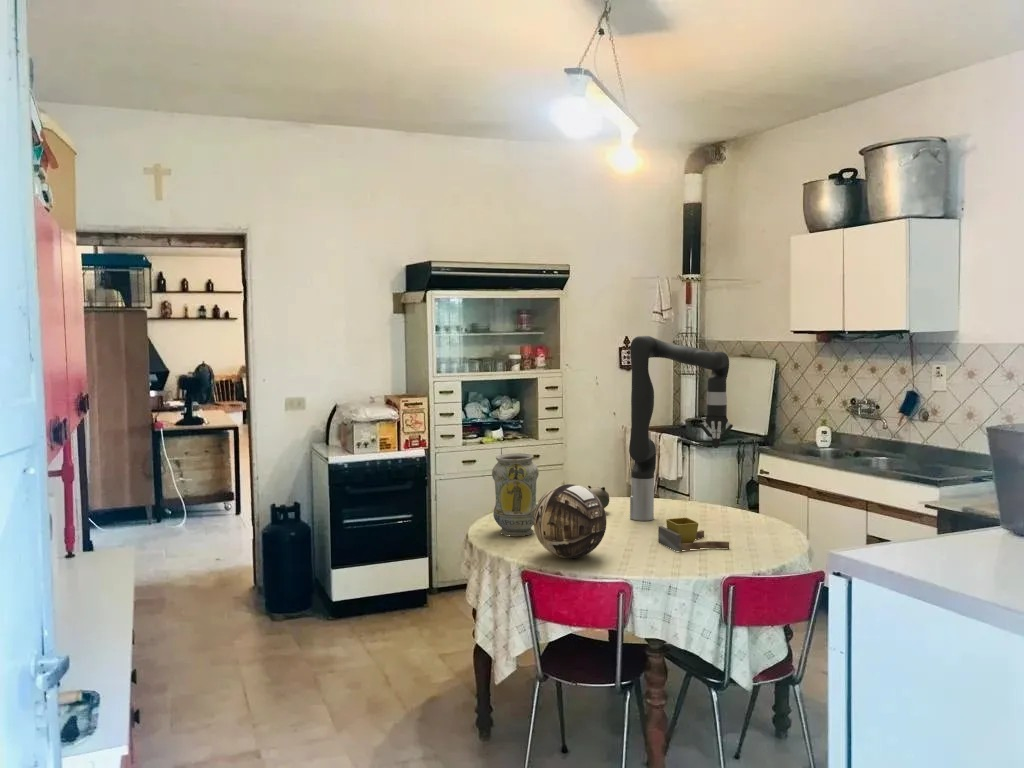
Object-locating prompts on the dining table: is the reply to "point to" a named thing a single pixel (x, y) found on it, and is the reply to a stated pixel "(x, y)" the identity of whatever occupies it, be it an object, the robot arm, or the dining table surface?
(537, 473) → the vase
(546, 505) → the sphere
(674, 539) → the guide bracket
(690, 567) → the dining table surface
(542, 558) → the dining table surface
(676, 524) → the flower pot
